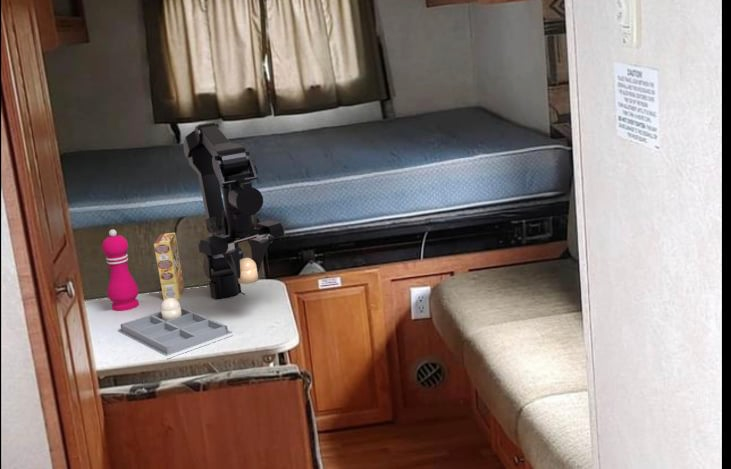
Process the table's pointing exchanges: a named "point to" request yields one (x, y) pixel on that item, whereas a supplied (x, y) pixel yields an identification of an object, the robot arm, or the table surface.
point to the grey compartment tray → (174, 331)
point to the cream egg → (170, 309)
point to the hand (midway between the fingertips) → (247, 275)
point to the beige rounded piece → (248, 271)
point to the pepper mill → (119, 273)
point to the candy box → (169, 266)
